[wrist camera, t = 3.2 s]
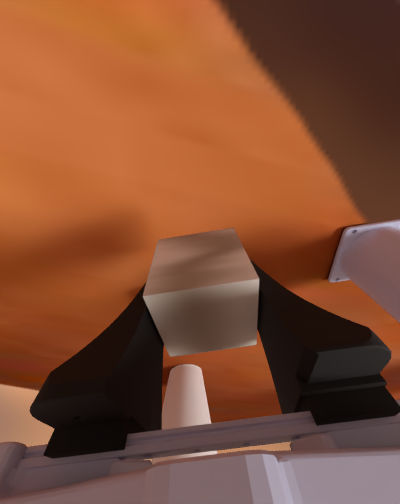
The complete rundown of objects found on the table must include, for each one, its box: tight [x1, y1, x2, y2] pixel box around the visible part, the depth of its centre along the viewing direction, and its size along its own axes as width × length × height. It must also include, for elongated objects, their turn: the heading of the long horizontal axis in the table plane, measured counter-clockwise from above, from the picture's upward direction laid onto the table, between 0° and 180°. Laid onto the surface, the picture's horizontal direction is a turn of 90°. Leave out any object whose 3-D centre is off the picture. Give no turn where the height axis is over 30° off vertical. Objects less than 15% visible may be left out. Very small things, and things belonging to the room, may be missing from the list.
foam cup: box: [152, 364, 217, 464], centre depth 31 cm, size 10×9×13 cm
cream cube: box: [143, 228, 259, 357], centre depth 11 cm, size 5×5×5 cm
